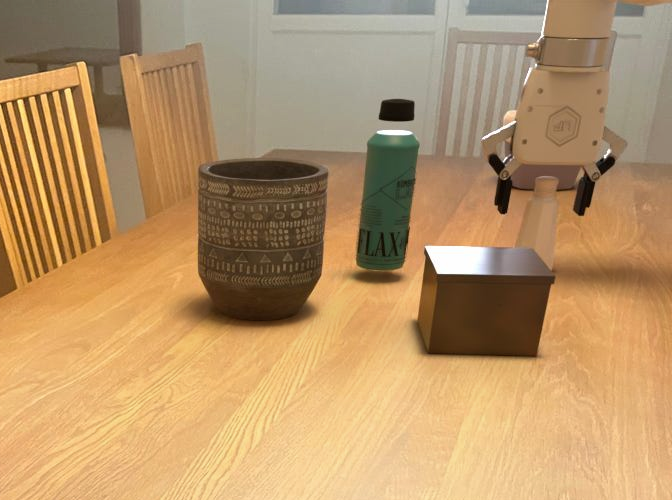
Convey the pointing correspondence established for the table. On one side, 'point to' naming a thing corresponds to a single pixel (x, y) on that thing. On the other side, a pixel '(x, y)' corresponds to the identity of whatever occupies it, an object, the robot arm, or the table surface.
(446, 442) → the table surface
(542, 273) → the walnut box
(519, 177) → the bowl
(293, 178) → the planter
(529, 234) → the cream bottle
